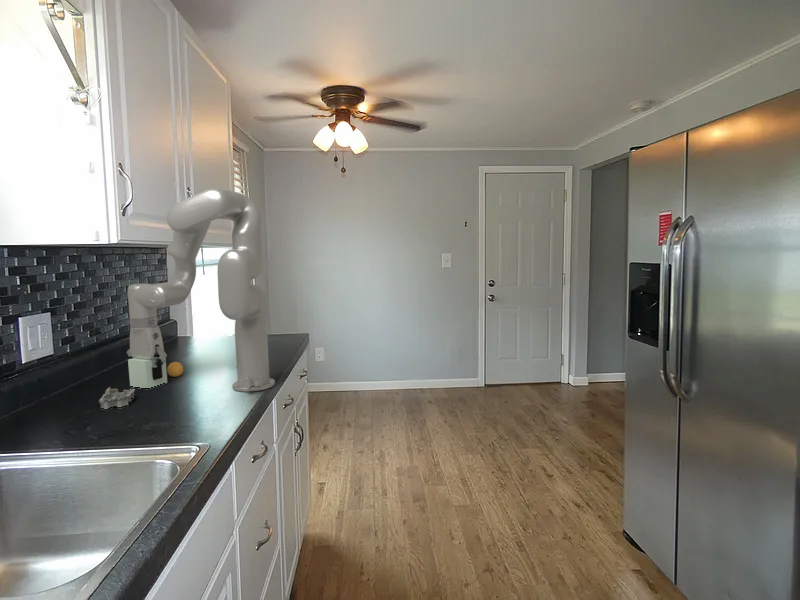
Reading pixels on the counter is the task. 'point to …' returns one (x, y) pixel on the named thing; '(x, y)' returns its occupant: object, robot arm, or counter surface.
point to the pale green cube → (144, 373)
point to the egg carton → (116, 398)
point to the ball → (175, 369)
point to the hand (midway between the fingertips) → (148, 377)
